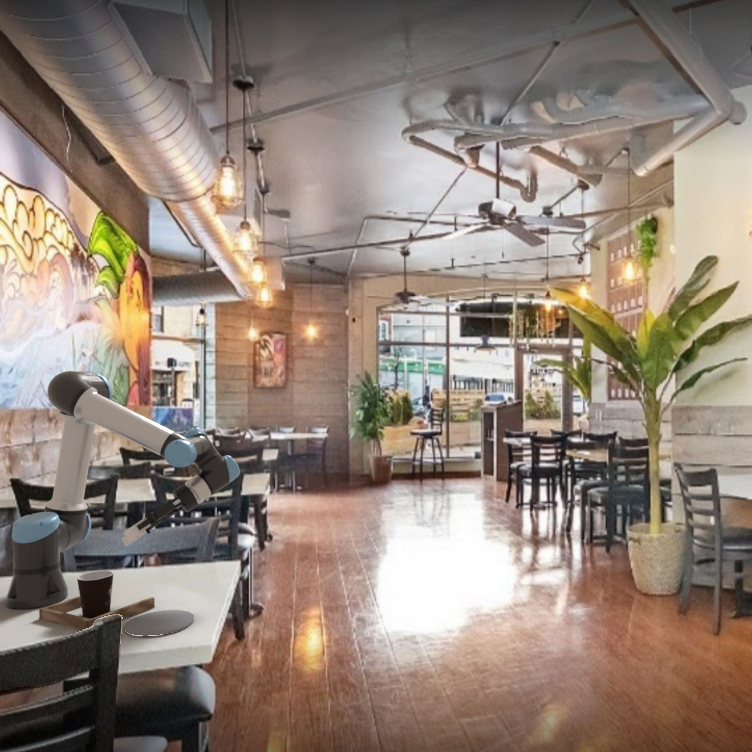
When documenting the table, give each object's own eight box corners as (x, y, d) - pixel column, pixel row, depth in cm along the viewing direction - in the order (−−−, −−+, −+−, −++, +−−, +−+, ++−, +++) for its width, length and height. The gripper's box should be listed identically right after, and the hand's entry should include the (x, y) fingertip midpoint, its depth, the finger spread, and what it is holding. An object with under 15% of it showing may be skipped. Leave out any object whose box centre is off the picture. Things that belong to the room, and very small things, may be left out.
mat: (129, 617, 162) (129, 614, 162) (194, 610, 165) (194, 606, 165) (119, 640, 146) (119, 637, 146) (192, 632, 150) (192, 628, 150)
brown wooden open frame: (105, 596, 179) (105, 587, 179) (154, 607, 169) (154, 597, 169) (39, 618, 163) (39, 608, 163) (89, 631, 152) (89, 621, 152)
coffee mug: (100, 620, 160) (99, 580, 160) (70, 619, 162) (69, 579, 162) (127, 605, 171) (126, 567, 171) (99, 604, 173) (98, 567, 173)
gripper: (205, 496, 174) (136, 545, 163) (192, 511, 195) (129, 555, 184) (190, 474, 174) (119, 521, 163) (178, 491, 196) (114, 534, 184)
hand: (124, 539), depth 174 cm, fingers open, 13 cm apart
